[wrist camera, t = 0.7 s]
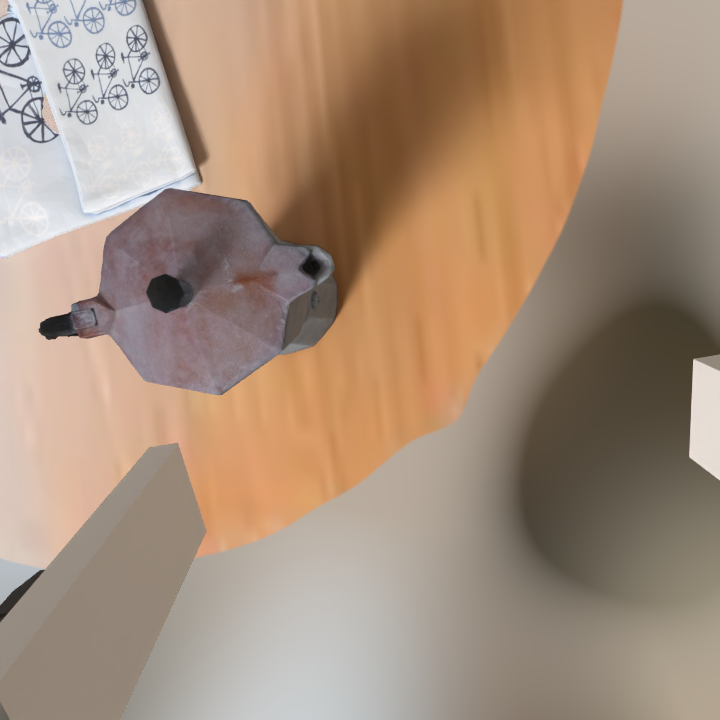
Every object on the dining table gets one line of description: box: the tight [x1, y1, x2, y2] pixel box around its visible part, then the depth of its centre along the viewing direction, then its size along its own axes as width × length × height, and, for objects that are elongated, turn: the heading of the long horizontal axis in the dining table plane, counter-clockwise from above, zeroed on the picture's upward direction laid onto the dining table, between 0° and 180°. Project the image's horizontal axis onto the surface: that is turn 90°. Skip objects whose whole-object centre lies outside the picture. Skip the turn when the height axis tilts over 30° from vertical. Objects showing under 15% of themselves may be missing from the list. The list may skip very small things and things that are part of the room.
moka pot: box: [38, 188, 337, 395], centre depth 29 cm, size 10×15×20 cm, turn 107°
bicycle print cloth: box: [0, 0, 201, 258], centre depth 39 cm, size 19×20×2 cm
